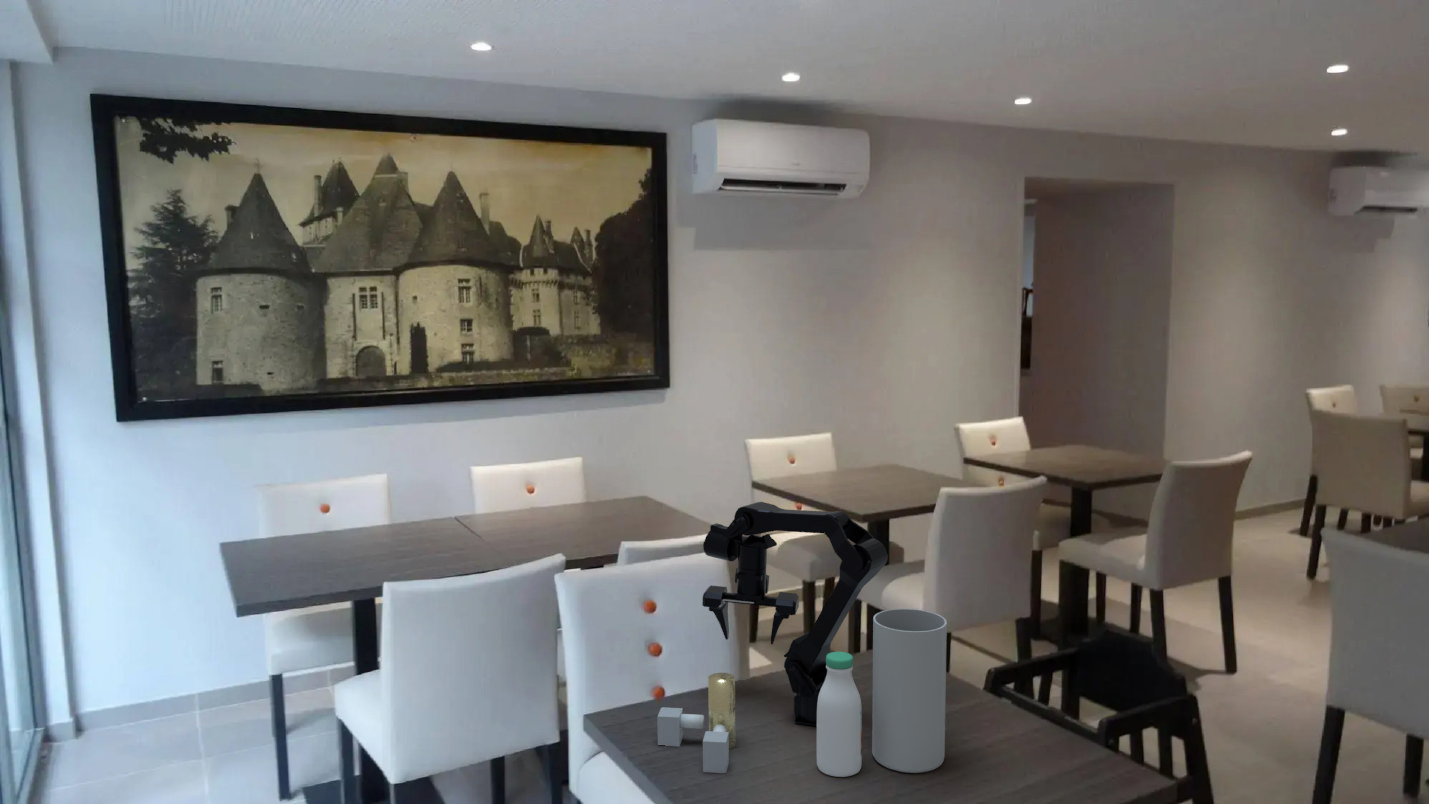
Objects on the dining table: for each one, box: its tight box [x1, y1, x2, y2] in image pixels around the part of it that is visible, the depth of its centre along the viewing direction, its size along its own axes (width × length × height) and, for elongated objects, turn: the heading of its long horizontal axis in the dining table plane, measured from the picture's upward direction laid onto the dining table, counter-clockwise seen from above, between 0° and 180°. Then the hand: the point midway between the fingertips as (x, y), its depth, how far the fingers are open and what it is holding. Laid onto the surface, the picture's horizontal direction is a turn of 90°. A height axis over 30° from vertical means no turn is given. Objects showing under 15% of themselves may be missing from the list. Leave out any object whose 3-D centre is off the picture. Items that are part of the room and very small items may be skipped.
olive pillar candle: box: [707, 672, 736, 750], centre depth 177 cm, size 5×5×12 cm
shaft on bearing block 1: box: [656, 707, 705, 748], centre depth 178 cm, size 8×4×6 cm, turn 83°
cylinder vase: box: [871, 608, 948, 774], centre depth 170 cm, size 12×12×25 cm
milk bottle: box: [816, 651, 863, 778], centre depth 167 cm, size 8×8×20 cm
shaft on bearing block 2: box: [702, 724, 730, 774], centre depth 170 cm, size 8×4×6 cm, turn 173°
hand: (749, 641), depth 195 cm, fingers open, 9 cm apart
